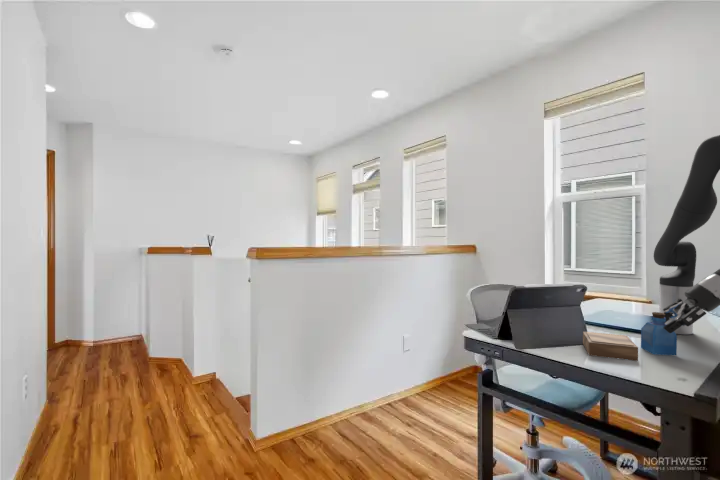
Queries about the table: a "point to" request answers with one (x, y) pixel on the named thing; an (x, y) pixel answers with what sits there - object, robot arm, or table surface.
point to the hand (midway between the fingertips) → (661, 326)
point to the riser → (610, 346)
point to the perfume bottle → (658, 336)
